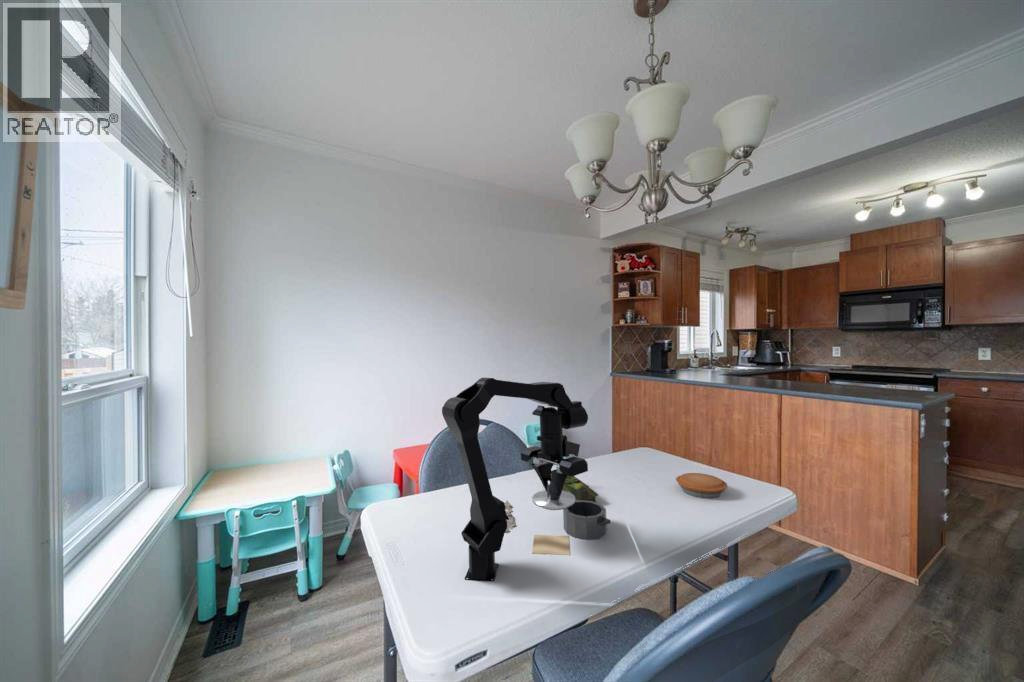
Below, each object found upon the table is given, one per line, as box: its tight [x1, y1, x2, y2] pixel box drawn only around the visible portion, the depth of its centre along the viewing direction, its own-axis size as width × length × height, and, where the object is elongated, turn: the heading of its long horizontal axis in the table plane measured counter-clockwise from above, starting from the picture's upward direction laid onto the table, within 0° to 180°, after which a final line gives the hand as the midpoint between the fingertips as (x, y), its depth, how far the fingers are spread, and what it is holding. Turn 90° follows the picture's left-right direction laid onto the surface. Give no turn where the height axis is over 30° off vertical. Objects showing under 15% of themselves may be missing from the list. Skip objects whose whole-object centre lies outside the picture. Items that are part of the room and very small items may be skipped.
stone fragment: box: [504, 500, 516, 534], centre depth 109 cm, size 25×3×10 cm
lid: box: [531, 478, 575, 511], centre depth 93 cm, size 11×11×6 cm
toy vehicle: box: [551, 475, 599, 503], centre depth 123 cm, size 9×20×10 cm, turn 19°
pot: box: [562, 500, 611, 541], centre depth 99 cm, size 14×11×6 cm
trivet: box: [531, 534, 571, 556], centre depth 91 cm, size 9×9×1 cm
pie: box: [675, 472, 728, 500], centre depth 124 cm, size 16×16×5 cm
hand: (553, 494), depth 93 cm, fingers closed on lid, 3 cm apart
